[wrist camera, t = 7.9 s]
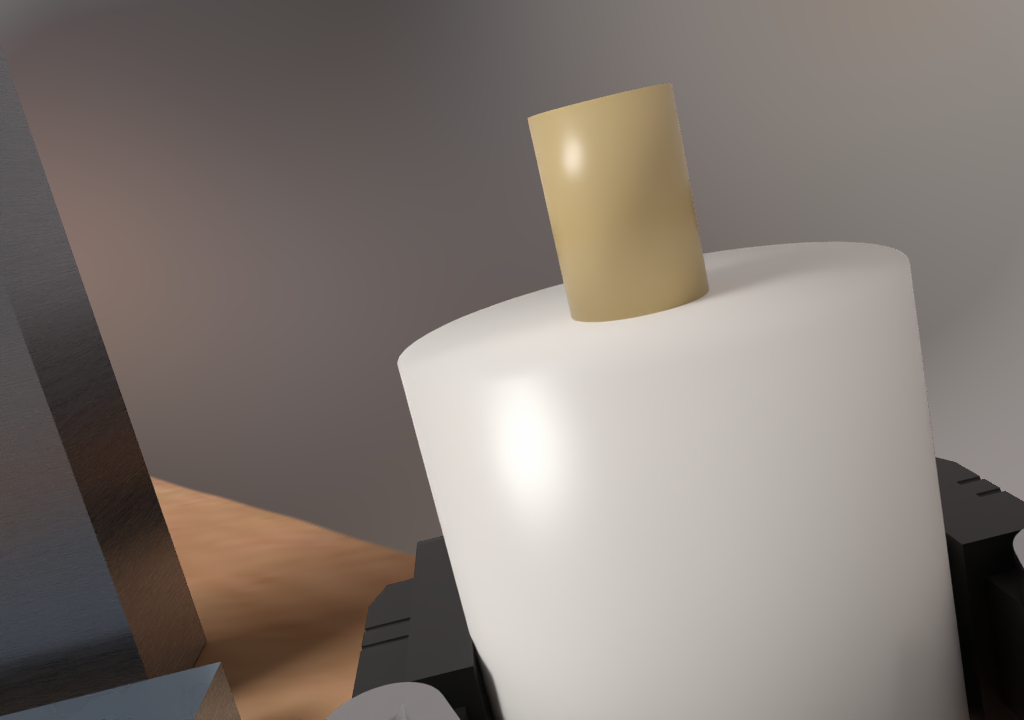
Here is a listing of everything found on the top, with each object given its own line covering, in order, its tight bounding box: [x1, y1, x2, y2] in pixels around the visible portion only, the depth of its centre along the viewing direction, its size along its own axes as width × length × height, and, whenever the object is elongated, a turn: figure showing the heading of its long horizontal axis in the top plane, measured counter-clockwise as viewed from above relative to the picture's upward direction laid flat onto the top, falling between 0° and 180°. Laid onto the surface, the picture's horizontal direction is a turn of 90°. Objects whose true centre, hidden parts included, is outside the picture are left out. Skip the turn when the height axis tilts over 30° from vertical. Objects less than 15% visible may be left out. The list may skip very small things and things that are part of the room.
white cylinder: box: [398, 83, 970, 720], centre depth 10 cm, size 5×5×12 cm
